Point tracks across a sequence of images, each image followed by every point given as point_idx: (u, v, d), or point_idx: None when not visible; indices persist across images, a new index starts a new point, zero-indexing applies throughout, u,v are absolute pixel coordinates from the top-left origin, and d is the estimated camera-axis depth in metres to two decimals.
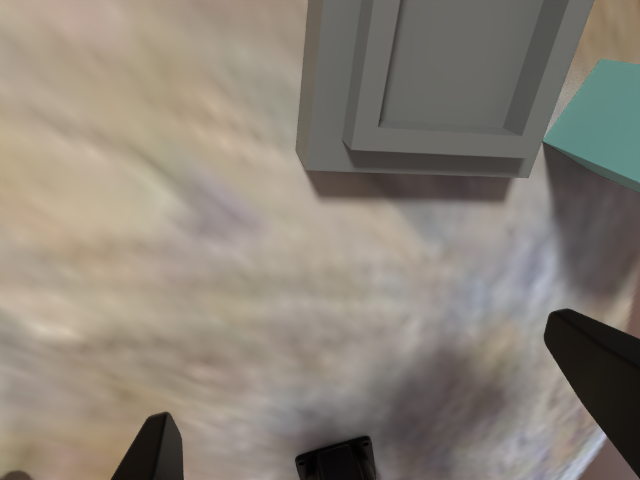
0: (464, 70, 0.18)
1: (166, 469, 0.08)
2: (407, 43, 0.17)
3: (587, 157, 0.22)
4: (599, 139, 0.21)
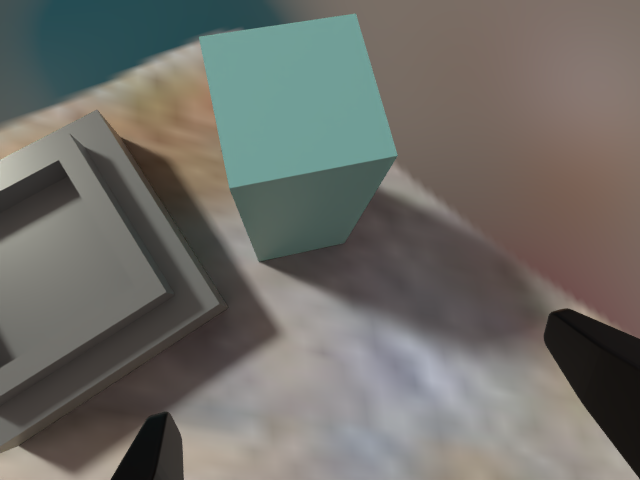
0: (66, 280, 0.19)
1: (166, 469, 0.08)
2: None
3: (253, 247, 0.20)
4: None
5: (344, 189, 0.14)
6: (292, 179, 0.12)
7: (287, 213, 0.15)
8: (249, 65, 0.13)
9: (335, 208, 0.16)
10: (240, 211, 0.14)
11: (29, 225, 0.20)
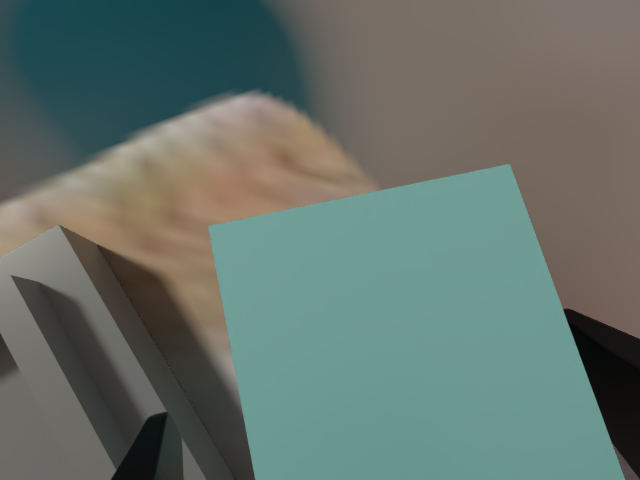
0: None
1: (166, 469, 0.08)
2: None
3: None
4: None
5: None
6: None
7: None
8: (311, 286, 0.06)
9: None
10: None
11: None
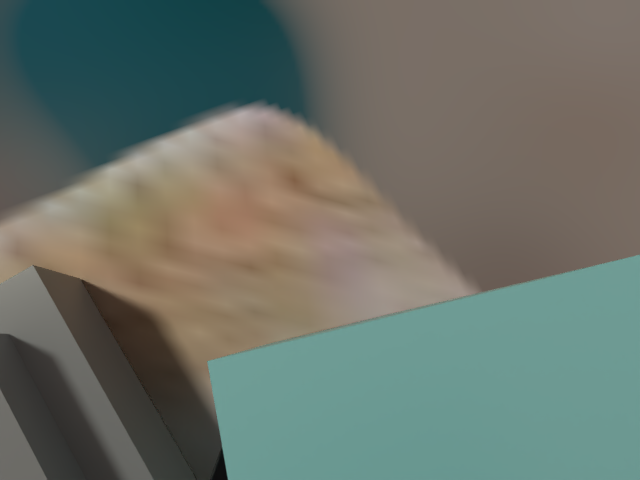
0: None
1: None
2: None
3: None
4: None
5: None
6: None
7: None
8: (364, 456, 0.04)
9: None
10: None
11: None
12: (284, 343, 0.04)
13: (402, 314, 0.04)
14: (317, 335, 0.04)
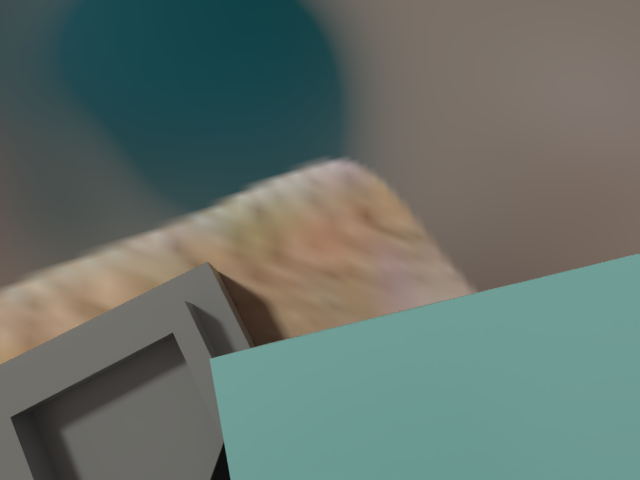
0: (166, 459, 0.18)
1: None
2: (93, 478, 0.18)
3: None
4: None
5: None
6: None
7: None
8: (365, 454, 0.04)
9: None
10: None
11: (131, 391, 0.19)
12: (286, 341, 0.04)
13: (404, 312, 0.04)
14: (319, 333, 0.04)
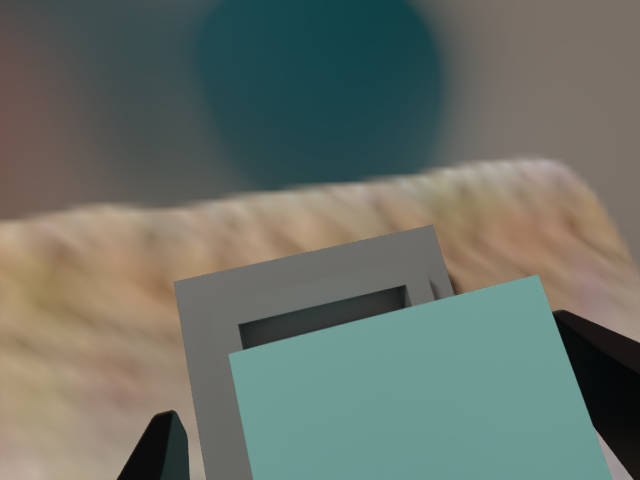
0: None
1: (173, 467, 0.08)
2: None
3: None
4: None
5: None
6: None
7: None
8: (336, 418, 0.06)
9: None
10: None
11: None
12: (281, 341, 0.06)
13: (364, 320, 0.06)
14: (304, 335, 0.06)
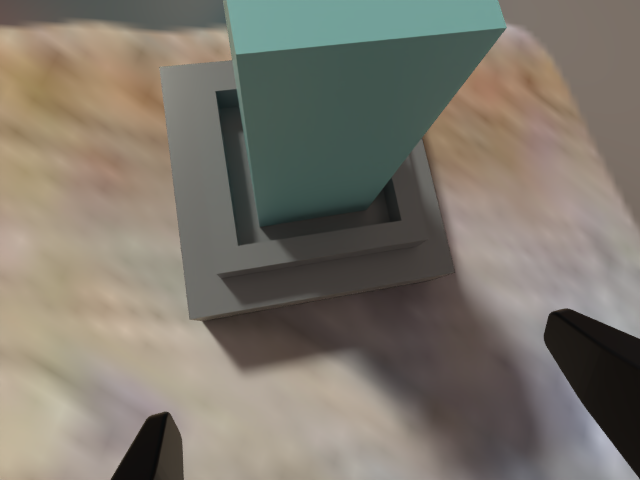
0: None
1: (166, 469, 0.08)
2: None
3: (255, 201, 0.15)
4: (251, 176, 0.16)
5: (402, 98, 0.10)
6: (338, 54, 0.08)
7: (312, 137, 0.11)
8: None
9: (378, 141, 0.12)
10: (247, 120, 0.09)
11: None
12: None
13: None
14: None
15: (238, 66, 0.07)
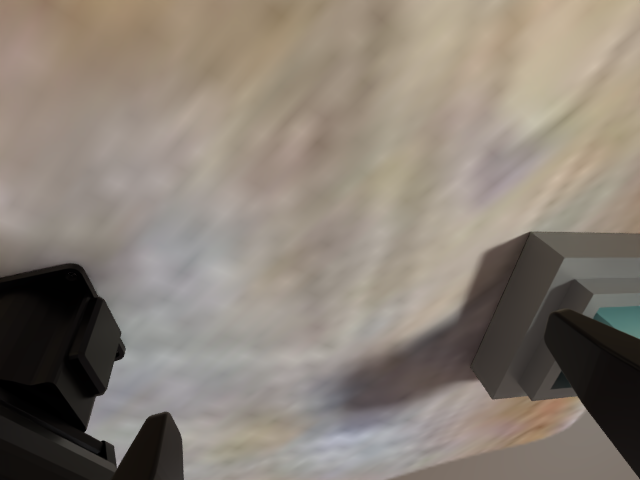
0: None
1: (166, 469, 0.08)
2: None
3: None
4: None
5: None
6: None
7: None
8: None
9: None
10: None
11: None
12: None
13: None
14: None
15: None
